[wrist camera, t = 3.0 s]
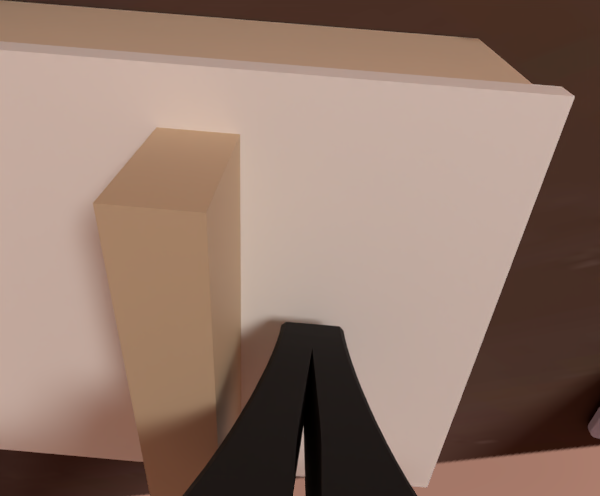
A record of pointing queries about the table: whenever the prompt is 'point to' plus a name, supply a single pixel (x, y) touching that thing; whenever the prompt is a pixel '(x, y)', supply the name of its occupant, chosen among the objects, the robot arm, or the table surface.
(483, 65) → the box
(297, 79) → the lid
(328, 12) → the table surface
